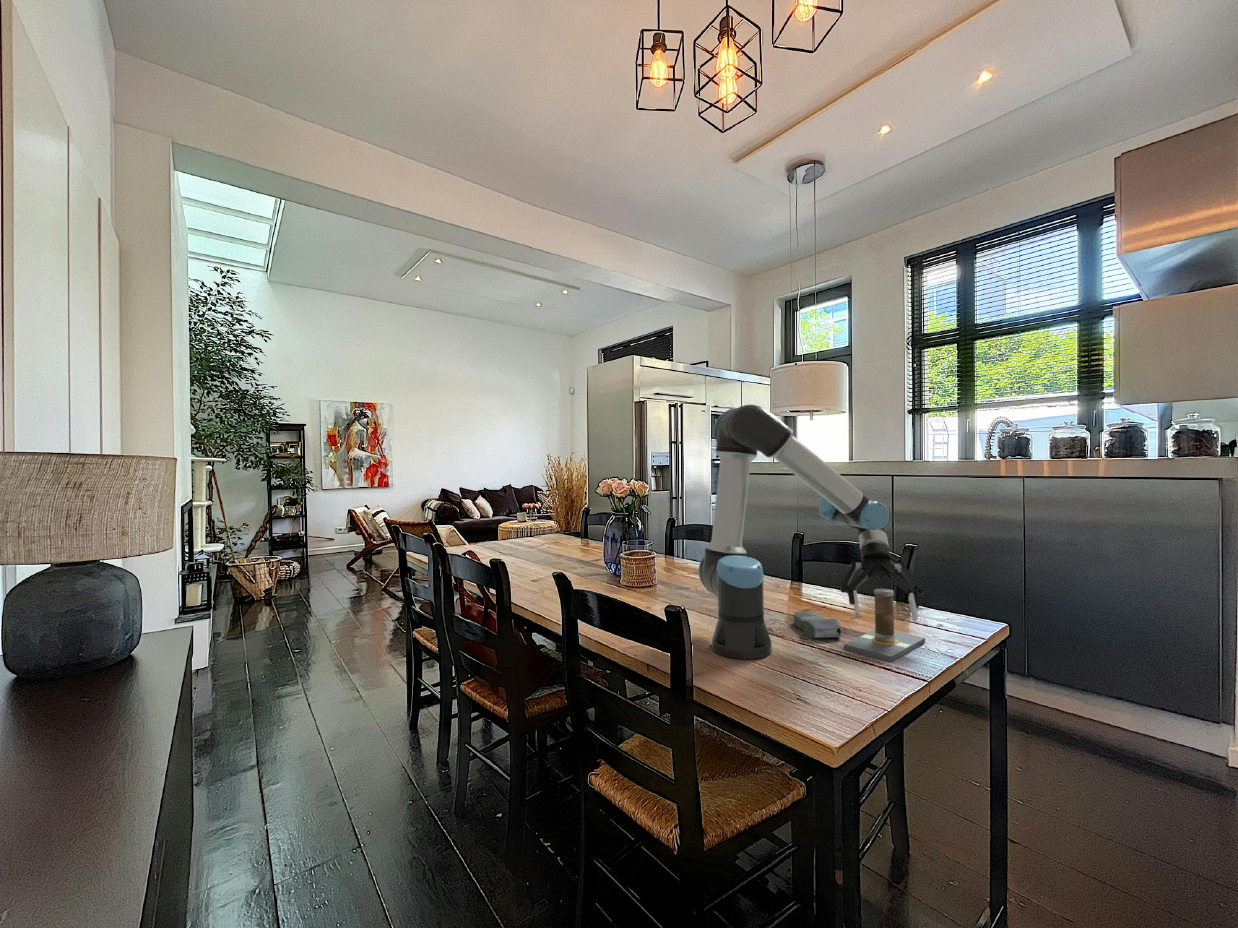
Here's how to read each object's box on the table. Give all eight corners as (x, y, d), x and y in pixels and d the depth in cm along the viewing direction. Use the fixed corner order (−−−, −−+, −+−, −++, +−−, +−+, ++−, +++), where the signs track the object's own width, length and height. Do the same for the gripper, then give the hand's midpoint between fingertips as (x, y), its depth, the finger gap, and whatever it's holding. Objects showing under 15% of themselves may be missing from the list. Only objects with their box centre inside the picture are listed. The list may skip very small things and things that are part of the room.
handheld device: (814, 619, 165) (814, 604, 165) (846, 641, 145) (846, 624, 145) (783, 620, 165) (783, 605, 165) (811, 642, 145) (811, 625, 145)
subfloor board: (891, 661, 129) (891, 655, 129) (843, 648, 138) (843, 643, 138) (925, 642, 142) (925, 637, 142) (879, 632, 151) (879, 627, 151)
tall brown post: (876, 642, 138) (875, 592, 138) (873, 636, 143) (872, 588, 143) (896, 643, 137) (895, 593, 137) (893, 638, 142) (892, 588, 142)
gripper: (921, 558, 151) (937, 626, 137) (827, 555, 158) (833, 620, 144) (926, 541, 146) (943, 611, 132) (828, 540, 153) (834, 606, 139)
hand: (886, 616), depth 138 cm, fingers open, 13 cm apart
